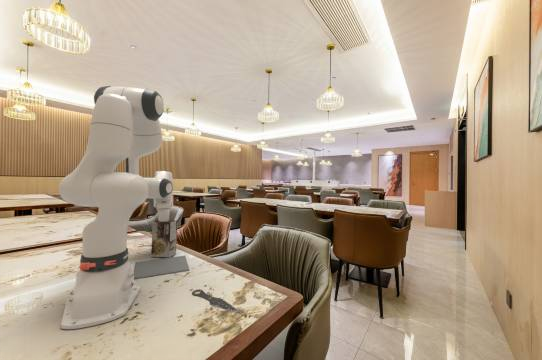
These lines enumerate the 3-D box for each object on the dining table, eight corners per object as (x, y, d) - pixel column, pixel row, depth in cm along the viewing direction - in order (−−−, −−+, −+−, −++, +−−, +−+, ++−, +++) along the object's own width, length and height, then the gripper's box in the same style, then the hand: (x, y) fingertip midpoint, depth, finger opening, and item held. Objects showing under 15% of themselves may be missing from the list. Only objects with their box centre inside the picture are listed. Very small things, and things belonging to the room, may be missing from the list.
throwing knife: (199, 289, 77) (199, 287, 77) (245, 310, 66) (245, 308, 66) (188, 295, 73) (188, 293, 73) (234, 317, 62) (234, 315, 62)
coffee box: (176, 254, 109) (178, 220, 110) (169, 257, 103) (170, 222, 103) (158, 252, 110) (160, 219, 111) (150, 256, 104) (152, 221, 104)
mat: (189, 270, 91) (189, 269, 91) (131, 279, 82) (131, 278, 82) (185, 256, 106) (185, 255, 106) (135, 262, 97) (135, 262, 97)
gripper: (156, 200, 122) (156, 226, 122) (156, 205, 104) (156, 235, 104) (169, 200, 125) (169, 225, 125) (171, 205, 107) (171, 234, 107)
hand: (163, 230), depth 115 cm, fingers closed
